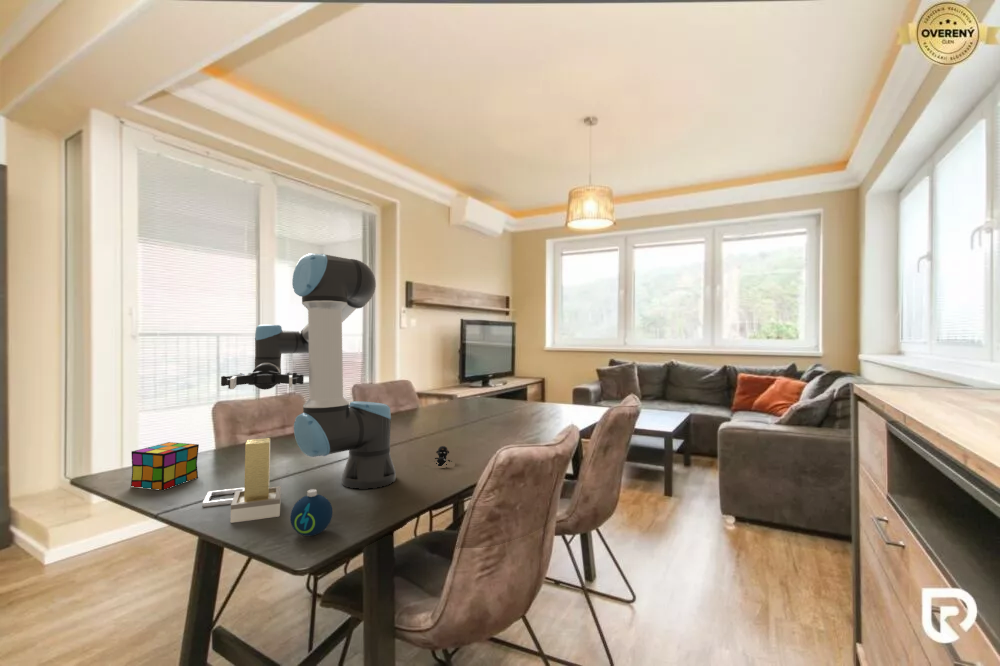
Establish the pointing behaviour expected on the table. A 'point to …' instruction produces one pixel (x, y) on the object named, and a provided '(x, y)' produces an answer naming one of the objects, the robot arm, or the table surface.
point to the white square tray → (256, 506)
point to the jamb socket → (219, 492)
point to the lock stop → (257, 469)
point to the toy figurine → (442, 455)
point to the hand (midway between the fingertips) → (261, 383)
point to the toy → (164, 465)
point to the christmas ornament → (311, 514)
